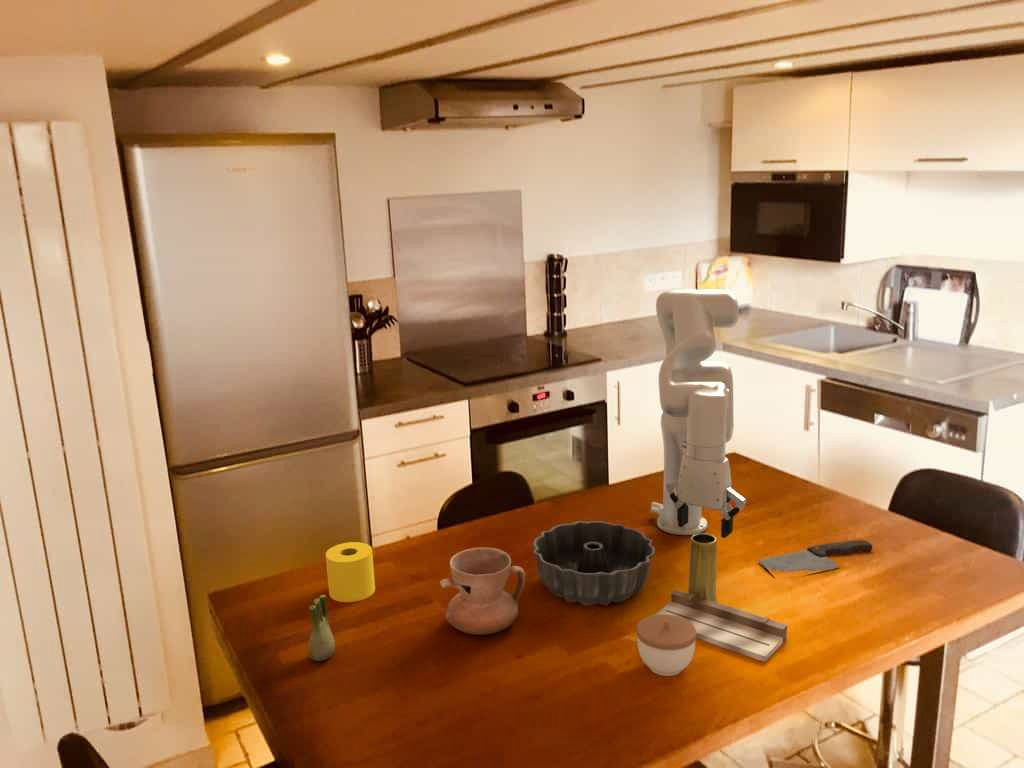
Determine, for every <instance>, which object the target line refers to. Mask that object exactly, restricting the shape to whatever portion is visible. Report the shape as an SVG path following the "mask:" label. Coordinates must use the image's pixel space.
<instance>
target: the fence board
mask: <svg viewBox="0 0 1024 768" xmlns="http://www.w3.org/2000/svg"><path fill="white" fill-rule="evenodd" d="M688 593H689V592H688ZM688 593H686V592H683V591H680V590H677V589H675V590H673V591H672V593H671V595H670V597H671V598H670V602H669V603H667V604H666V605H665V606H663V607H662V608H661V609H660V610H659V611H657V612H656V613H655V614H654V615H659V614H665V615H674V616H678V617H681V618H684V619H686V620H688V621H689V622H691V623H692V624H693V625H694V627H695V629H696V639H697V640H699V641H700V640H701V641H703V642H706V643H708V644H712V645H714V646H717V647H720V648H722V649H726V650H729V651H732V652H735V653H738V654H740V655H743V656H745V657H748V658H751V659H755V660H757V661H760V662H764V663H766V662H768V660H769V659H770V658H771V657H772V655H773V654H775V652H777V650H778V649H779V648H780V647H781V646H782V645H783V643H785V641H787V638H788V624H785V623H782V622H779V621H776V620H773V619H770V618H769V617H763V616H760V615H757V614H753V613H751V612H748V611H744V610H740V609H737V608H734V607H731V606H728V605H726V604H722V603H720V602H713V601H710V600H707V599H703V598H700V597H697V596H695V595H694V594H688Z"/></svg>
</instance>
